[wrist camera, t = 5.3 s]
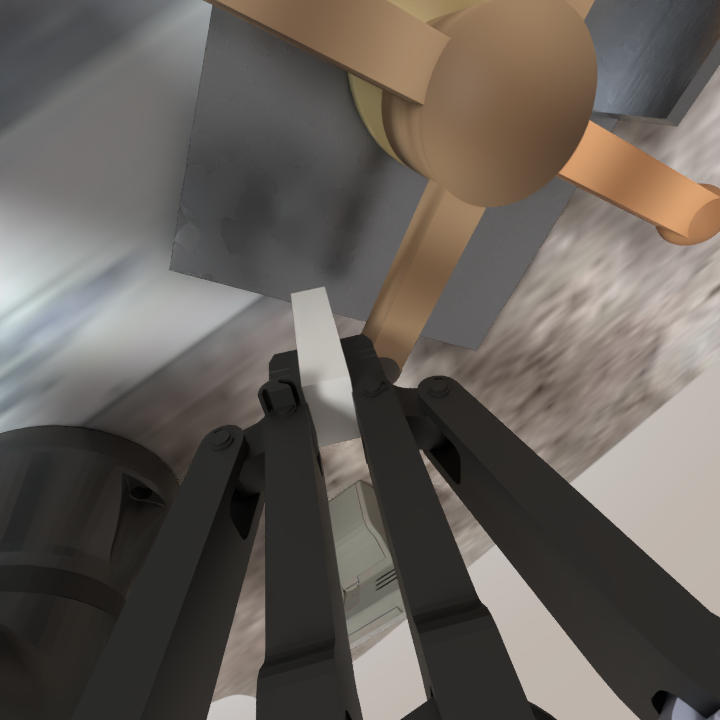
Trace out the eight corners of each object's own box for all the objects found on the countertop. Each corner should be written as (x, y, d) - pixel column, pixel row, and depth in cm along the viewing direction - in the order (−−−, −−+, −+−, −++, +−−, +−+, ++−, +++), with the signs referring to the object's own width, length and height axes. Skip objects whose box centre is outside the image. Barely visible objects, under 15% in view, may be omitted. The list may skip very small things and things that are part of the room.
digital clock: (304, 570, 43) (315, 692, 35) (252, 534, 38) (249, 667, 30) (441, 502, 41) (488, 614, 33) (404, 454, 36) (450, 573, 27)
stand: (476, 341, 30) (513, 387, 26) (173, 259, 23) (153, 304, 18) (735, -85, 19) (879, -133, 15) (306, -530, 11) (336, -913, 7)
